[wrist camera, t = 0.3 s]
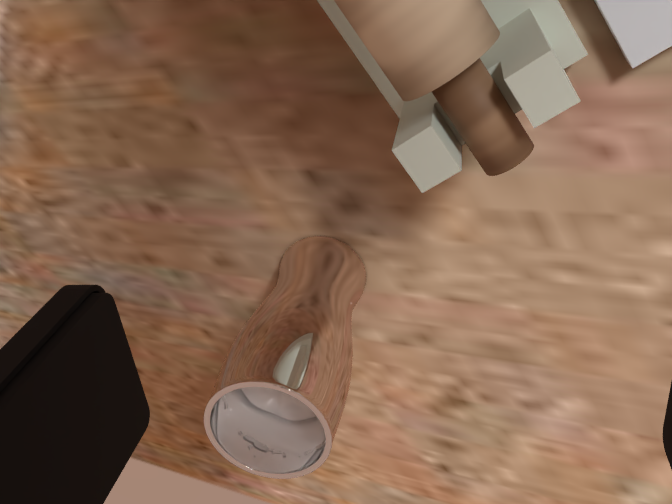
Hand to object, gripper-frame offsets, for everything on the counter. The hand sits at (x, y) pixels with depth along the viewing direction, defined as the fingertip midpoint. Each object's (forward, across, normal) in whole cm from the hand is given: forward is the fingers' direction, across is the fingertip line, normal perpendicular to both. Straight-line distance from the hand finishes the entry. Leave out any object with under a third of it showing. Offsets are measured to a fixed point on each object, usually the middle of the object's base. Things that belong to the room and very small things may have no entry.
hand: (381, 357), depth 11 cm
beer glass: (+29, +8, +16) cm, 34 cm away
